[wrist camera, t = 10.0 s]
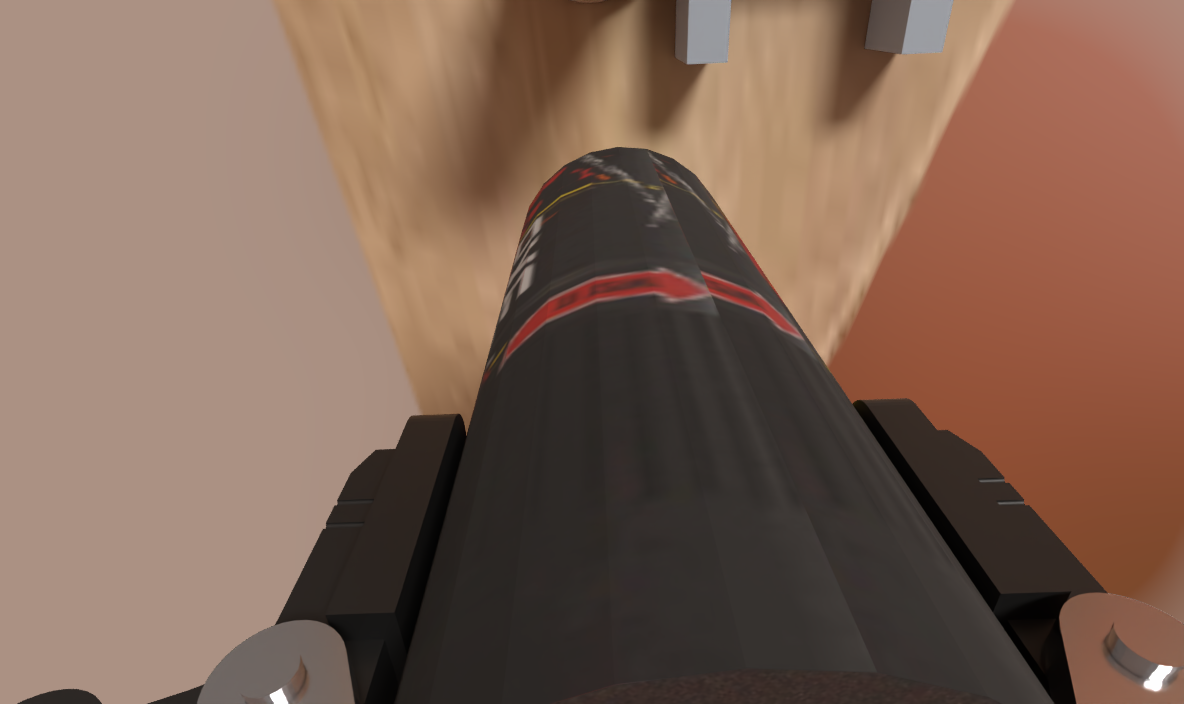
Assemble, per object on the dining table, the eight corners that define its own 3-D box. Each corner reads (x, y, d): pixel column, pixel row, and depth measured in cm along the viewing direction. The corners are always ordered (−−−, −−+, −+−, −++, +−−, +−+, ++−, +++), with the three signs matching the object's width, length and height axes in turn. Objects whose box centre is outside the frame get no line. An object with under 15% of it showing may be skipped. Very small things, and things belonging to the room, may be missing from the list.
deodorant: (538, 126, 16) (358, 610, 3) (750, 171, 17) (1311, 724, 4) (508, 321, 19) (347, 999, 6) (691, 353, 20) (899, 1027, 7)
